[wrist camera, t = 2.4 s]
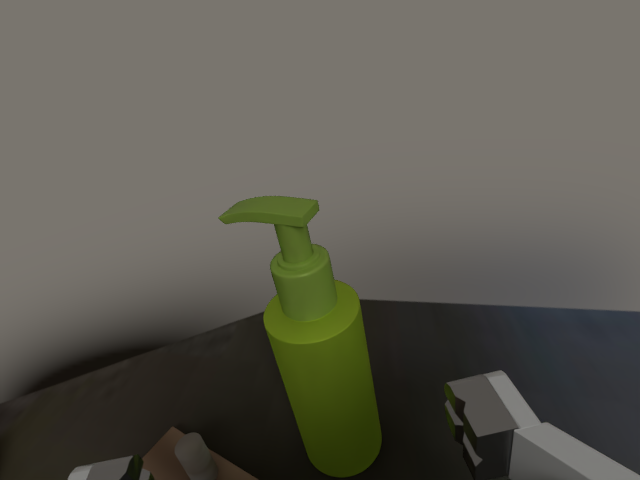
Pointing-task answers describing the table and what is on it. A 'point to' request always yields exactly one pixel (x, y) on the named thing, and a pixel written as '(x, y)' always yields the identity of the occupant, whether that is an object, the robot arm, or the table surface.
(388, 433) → the table surface
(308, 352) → the soap dispenser
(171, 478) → the pin seat
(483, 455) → the robot arm
